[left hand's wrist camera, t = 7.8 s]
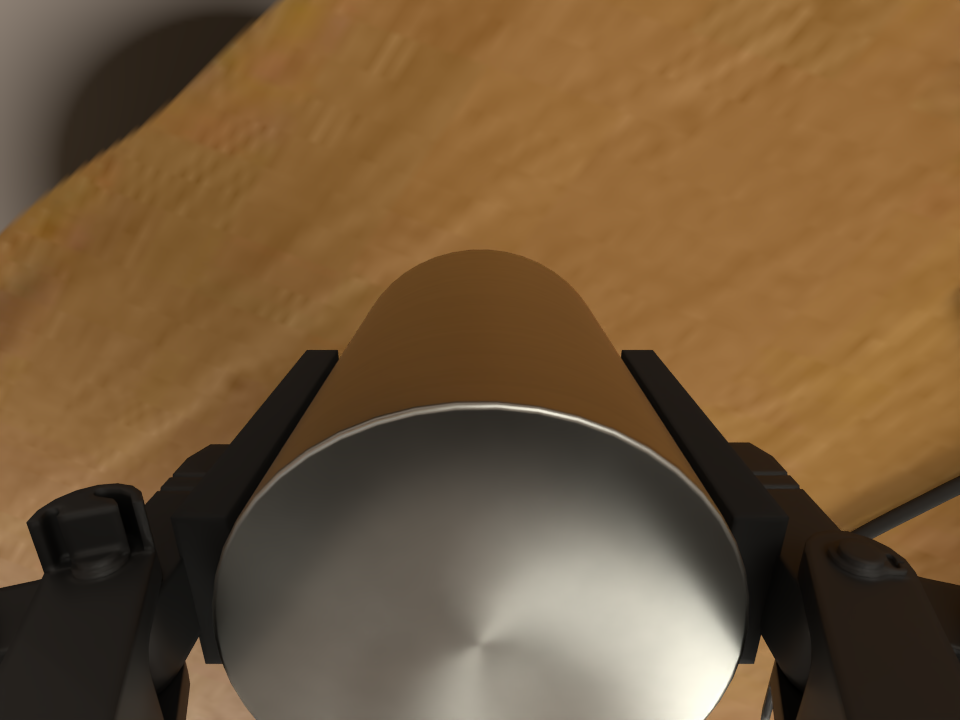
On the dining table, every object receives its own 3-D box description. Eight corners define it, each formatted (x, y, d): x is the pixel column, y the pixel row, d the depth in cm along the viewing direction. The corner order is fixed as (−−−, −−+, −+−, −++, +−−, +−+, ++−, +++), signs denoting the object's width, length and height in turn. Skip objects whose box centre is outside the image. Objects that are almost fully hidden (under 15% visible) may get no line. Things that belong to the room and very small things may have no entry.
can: (359, 473, 17) (238, 807, 8) (352, 242, 14) (172, 389, 6) (588, 483, 17) (694, 822, 9) (621, 256, 15) (816, 419, 6)
